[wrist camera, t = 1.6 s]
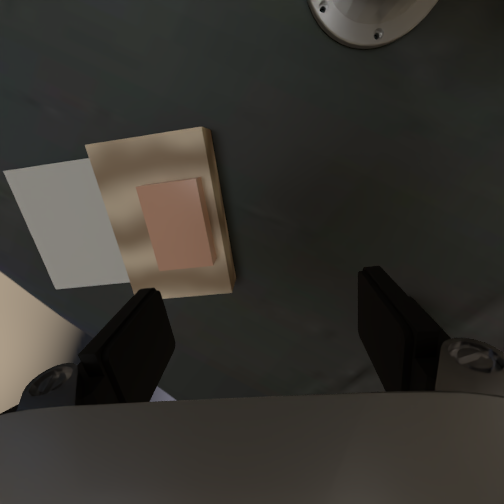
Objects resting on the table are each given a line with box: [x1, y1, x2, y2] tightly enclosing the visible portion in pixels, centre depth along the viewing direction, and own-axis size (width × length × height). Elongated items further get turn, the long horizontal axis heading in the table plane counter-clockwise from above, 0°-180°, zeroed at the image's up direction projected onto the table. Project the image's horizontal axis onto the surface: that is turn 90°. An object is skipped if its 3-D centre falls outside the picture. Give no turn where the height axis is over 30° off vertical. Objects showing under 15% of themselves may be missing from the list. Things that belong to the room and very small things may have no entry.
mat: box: [3, 158, 130, 289], centre depth 34 cm, size 16×13×1 cm
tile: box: [136, 177, 217, 271], centre depth 28 cm, size 9×6×2 cm, turn 8°
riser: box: [85, 127, 236, 299], centre depth 31 cm, size 18×12×4 cm, turn 8°
